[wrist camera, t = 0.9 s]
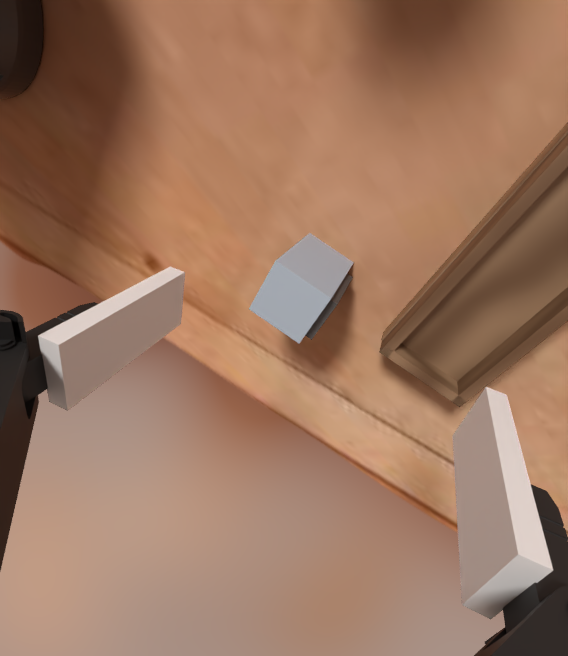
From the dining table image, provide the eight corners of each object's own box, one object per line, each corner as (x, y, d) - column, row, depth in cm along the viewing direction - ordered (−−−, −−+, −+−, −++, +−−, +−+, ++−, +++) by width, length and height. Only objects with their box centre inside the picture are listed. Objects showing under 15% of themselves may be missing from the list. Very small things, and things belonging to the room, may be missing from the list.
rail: (383, 331, 33) (366, 395, 25) (697, -25, 19) (888, -138, 11) (458, 383, 33) (465, 463, 25) (836, 62, 18) (1140, 10, 10)
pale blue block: (309, 232, 31) (275, 260, 25) (359, 266, 31) (338, 303, 25) (285, 273, 34) (248, 309, 27) (331, 305, 34) (305, 348, 27)
